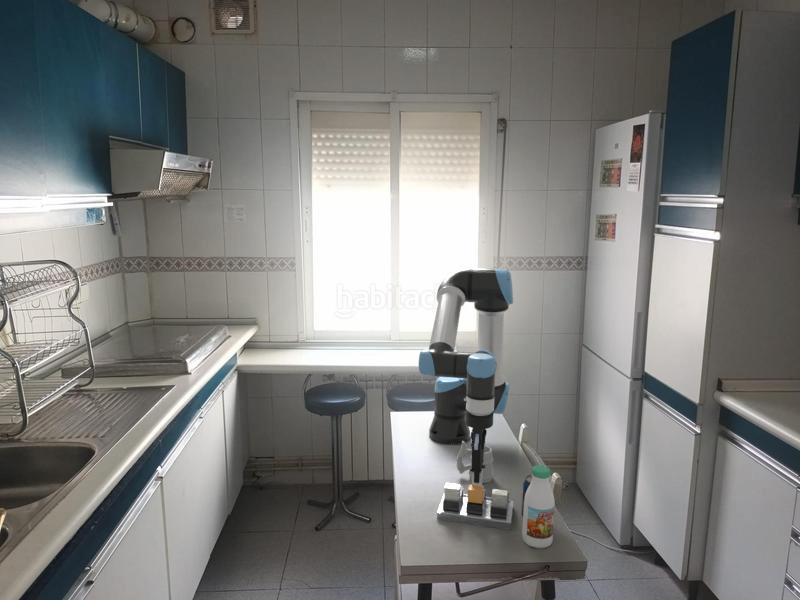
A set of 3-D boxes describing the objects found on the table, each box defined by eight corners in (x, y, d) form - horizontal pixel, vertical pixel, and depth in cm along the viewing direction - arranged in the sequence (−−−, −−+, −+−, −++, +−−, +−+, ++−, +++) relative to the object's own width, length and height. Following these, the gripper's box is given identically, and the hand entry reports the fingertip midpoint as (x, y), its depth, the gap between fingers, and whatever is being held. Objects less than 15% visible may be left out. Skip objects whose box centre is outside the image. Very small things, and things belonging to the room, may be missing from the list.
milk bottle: (516, 540, 151) (519, 468, 147) (532, 528, 156) (536, 459, 153) (542, 553, 145) (546, 478, 142) (558, 540, 151) (562, 468, 147)
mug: (493, 484, 180) (495, 448, 178) (455, 482, 181) (456, 446, 179) (492, 473, 187) (494, 438, 185) (455, 471, 188) (456, 436, 186)
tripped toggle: (468, 496, 162) (469, 484, 161) (483, 498, 161) (483, 486, 160) (467, 501, 159) (468, 489, 159) (482, 503, 158) (482, 491, 158)
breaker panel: (444, 497, 171) (445, 470, 170) (513, 507, 167) (514, 479, 165) (437, 519, 160) (437, 490, 158) (510, 530, 155) (512, 500, 154)
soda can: (519, 512, 164) (521, 473, 162) (543, 513, 164) (546, 473, 162) (524, 526, 157) (526, 485, 155) (549, 526, 157) (552, 485, 155)
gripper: (469, 401, 165) (466, 478, 169) (462, 418, 152) (459, 501, 156) (495, 404, 163) (492, 482, 167) (491, 421, 151) (487, 504, 155)
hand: (476, 491), depth 162 cm, fingers closed
